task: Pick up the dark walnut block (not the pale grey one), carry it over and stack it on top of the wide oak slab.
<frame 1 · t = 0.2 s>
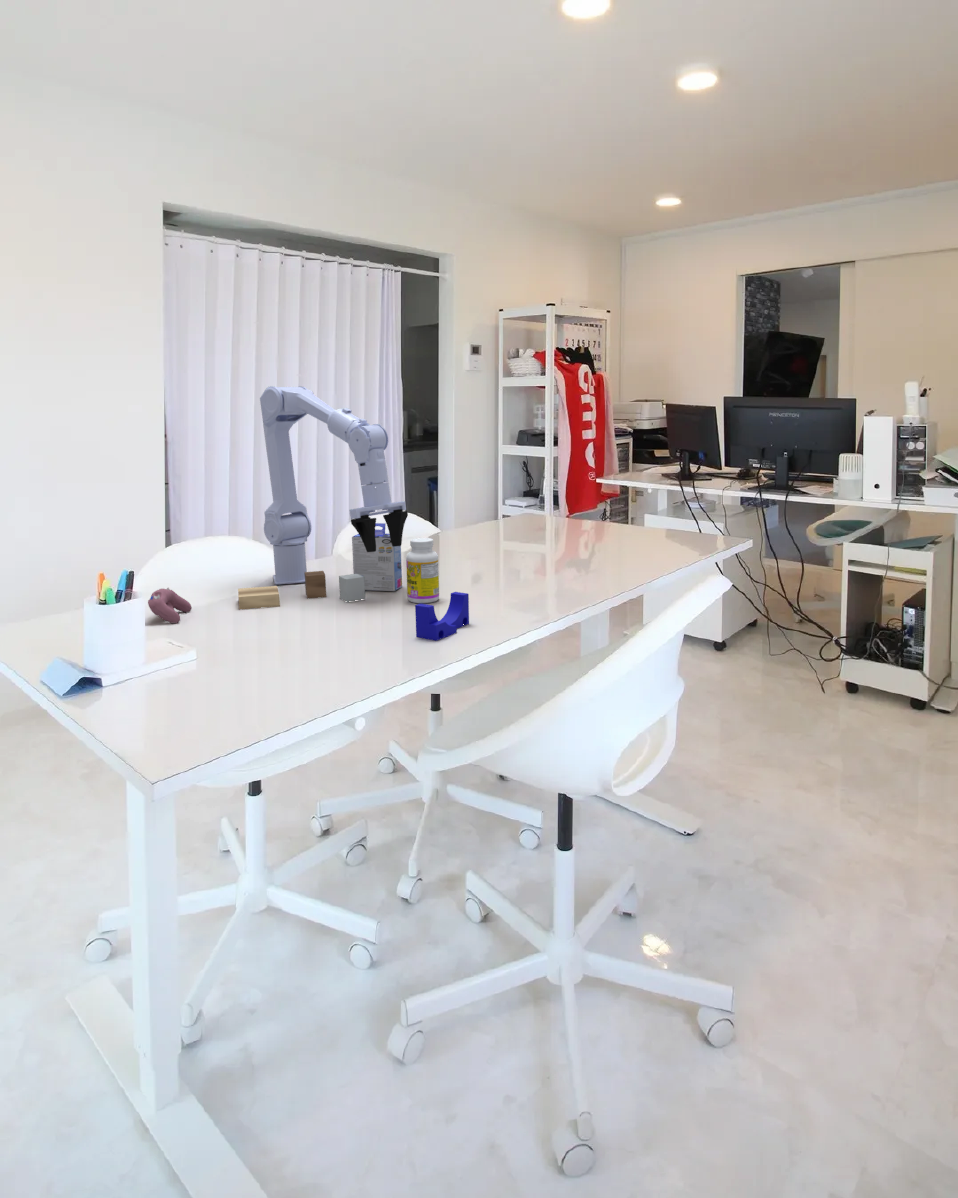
hand: (384, 548, 170), 10 cm above the table, tool pointing down, fingers open, 7 cm apart
supplement bottle: (423, 601, 169), on the table
ink cartridge box: (378, 589, 180), on the table
blue cradle holder: (446, 632, 147), on the table
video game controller: (171, 619, 158), on the table
oak slab: (259, 605, 169), on the table
walnut block: (316, 595, 175), on the table
grey block: (352, 599, 171), on the table
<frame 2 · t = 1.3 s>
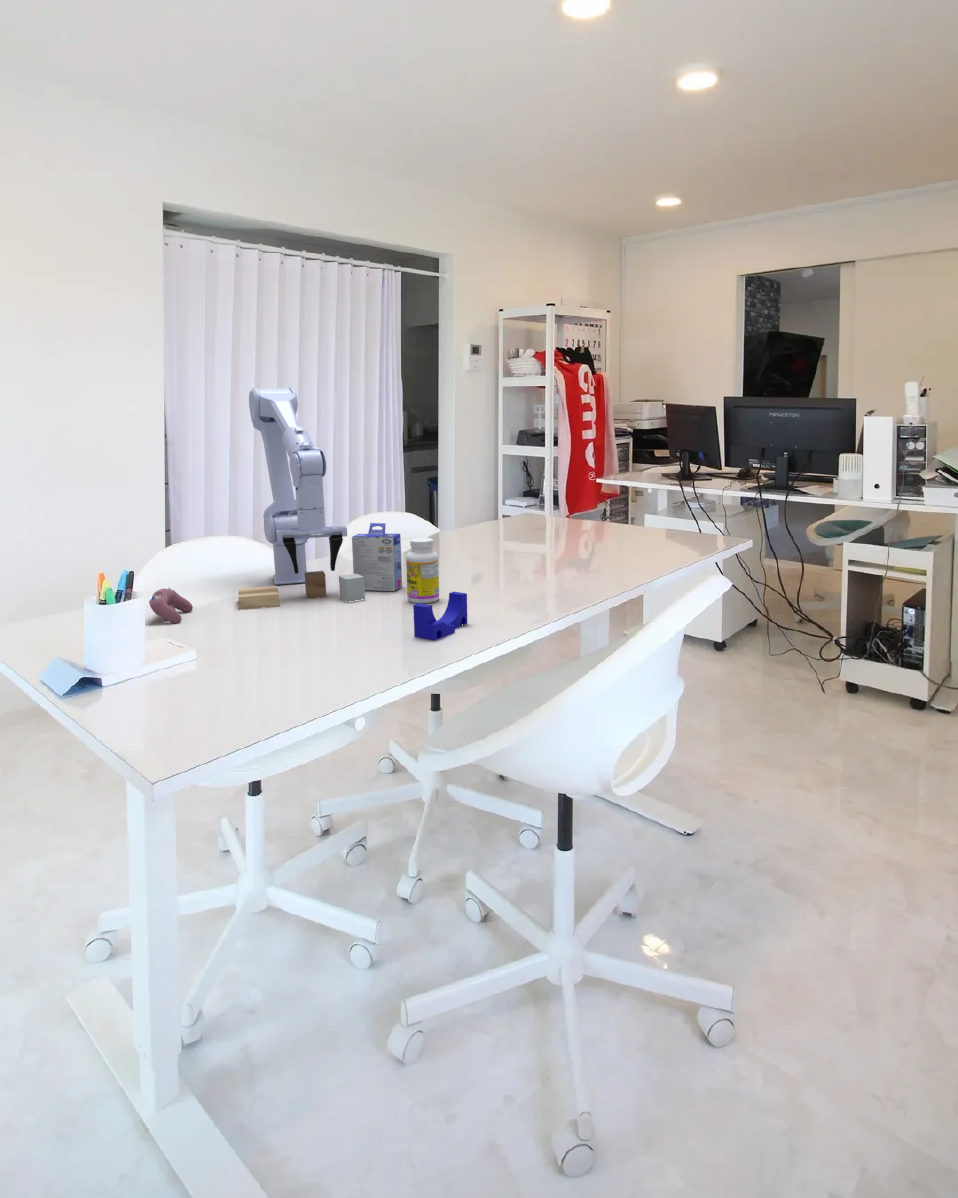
hand: (314, 571, 173), 5 cm above the table, tool pointing down, fingers open, 7 cm apart
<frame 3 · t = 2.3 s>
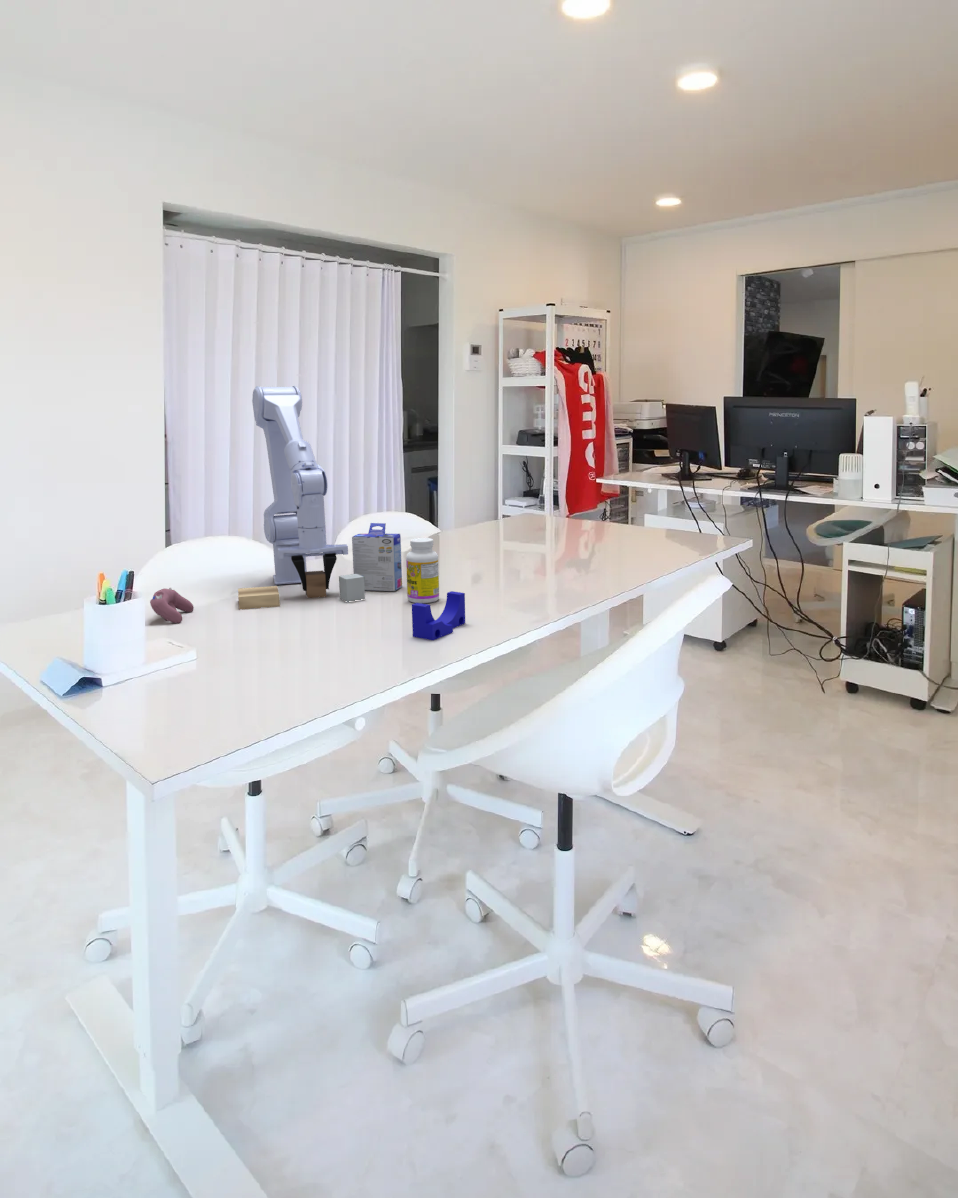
hand: (315, 589, 174), 1 cm above the table, tool pointing down, fingers closed on walnut block, 4 cm apart
walnut block: (316, 595, 175), on the table, touching gripper
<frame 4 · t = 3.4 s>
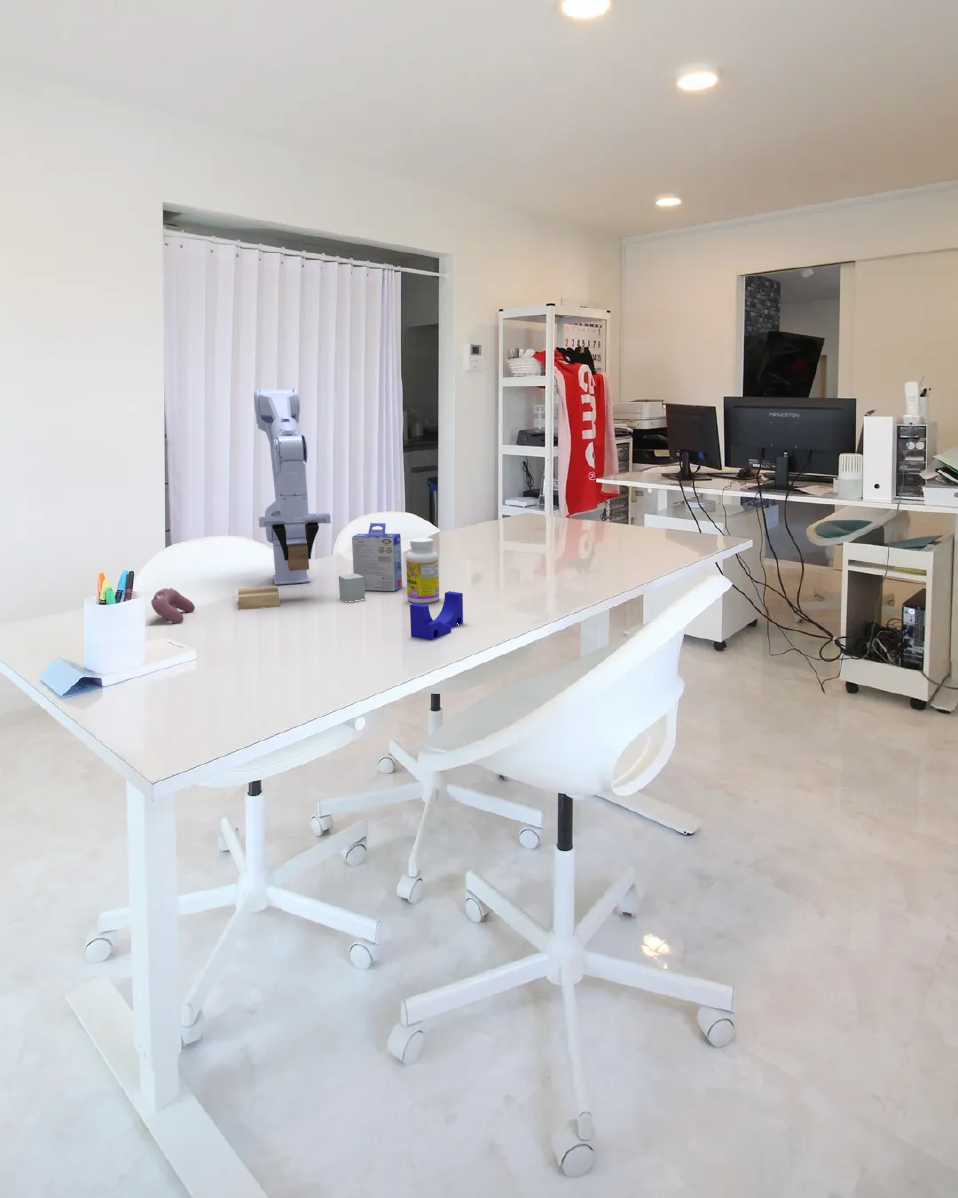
hand: (297, 559, 171), 8 cm above the table, tool pointing down, fingers closed on walnut block, 4 cm apart
walnut block: (298, 568, 171), point 6 cm above the table, touching gripper
when the fingers open (6 cm above the table, at t = 4.7 s): walnut block stays where it is, point 3 cm above the table.
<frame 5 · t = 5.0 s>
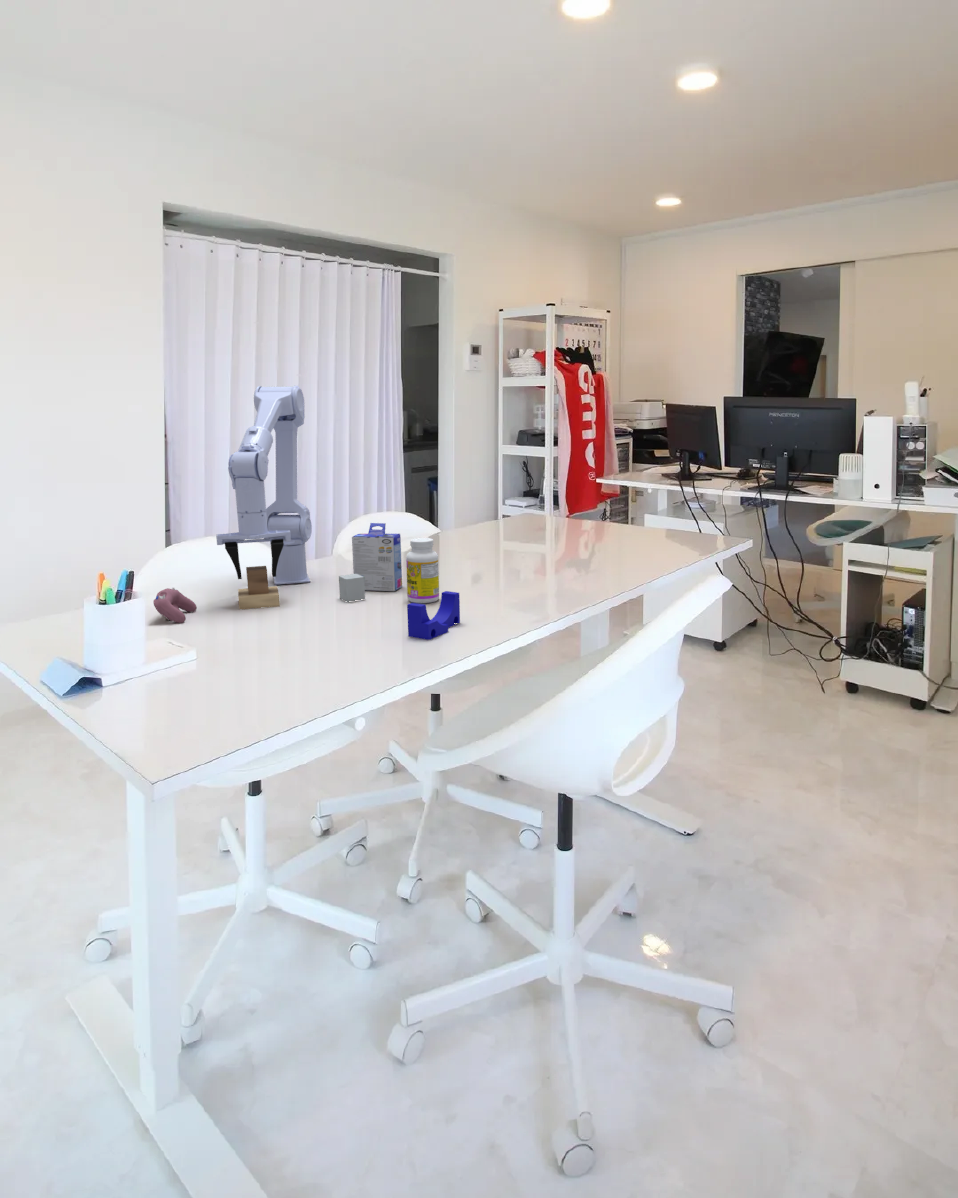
hand: (257, 577, 167), 6 cm above the table, tool pointing down, fingers open, 6 cm apart
walnut block: (258, 591, 168), point 3 cm above the table
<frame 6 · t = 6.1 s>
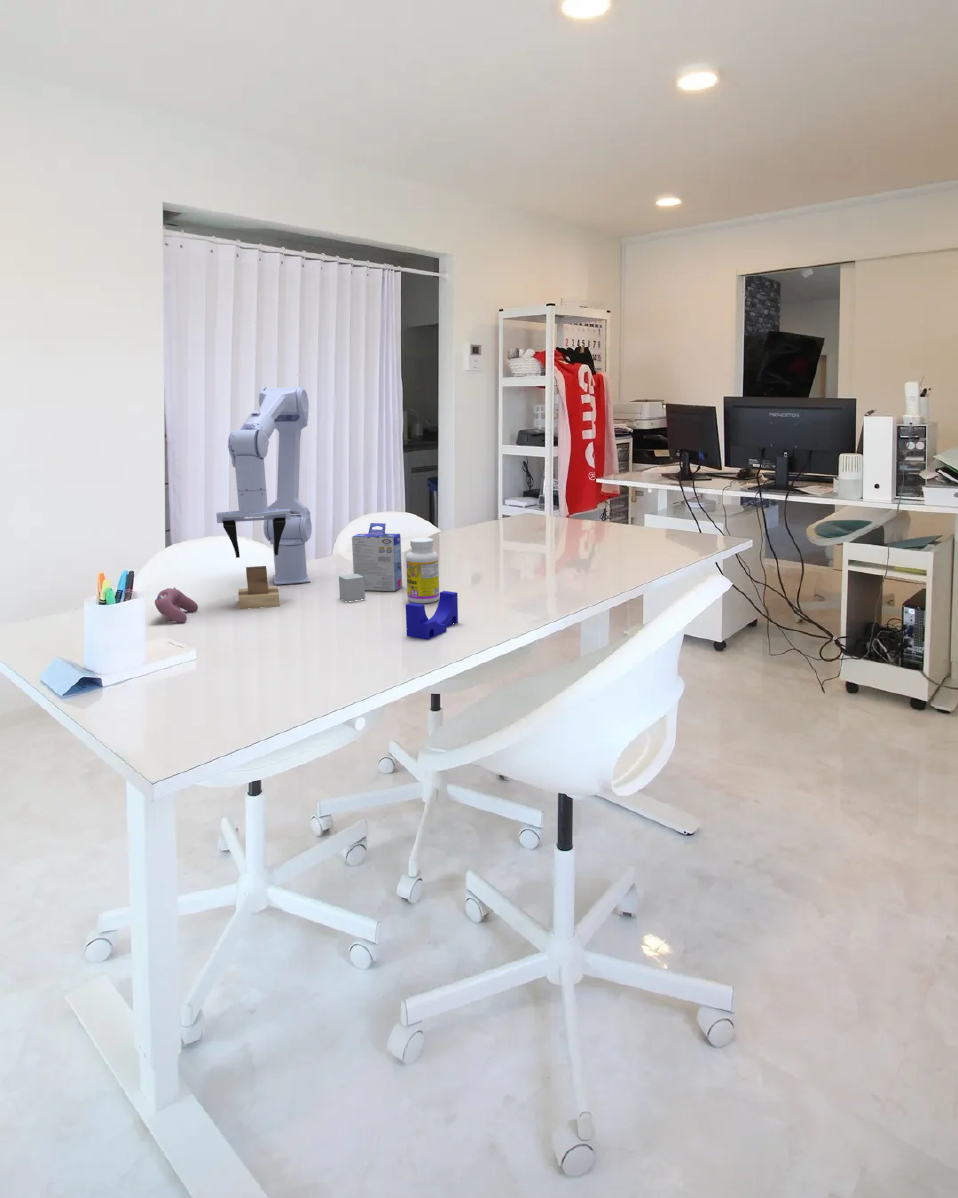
hand: (257, 555, 167), 10 cm above the table, tool pointing down, fingers open, 7 cm apart
oak slab: (259, 605, 169), on the table, touching walnut block
walnut block: (258, 592, 168), point 3 cm above the table, touching oak slab
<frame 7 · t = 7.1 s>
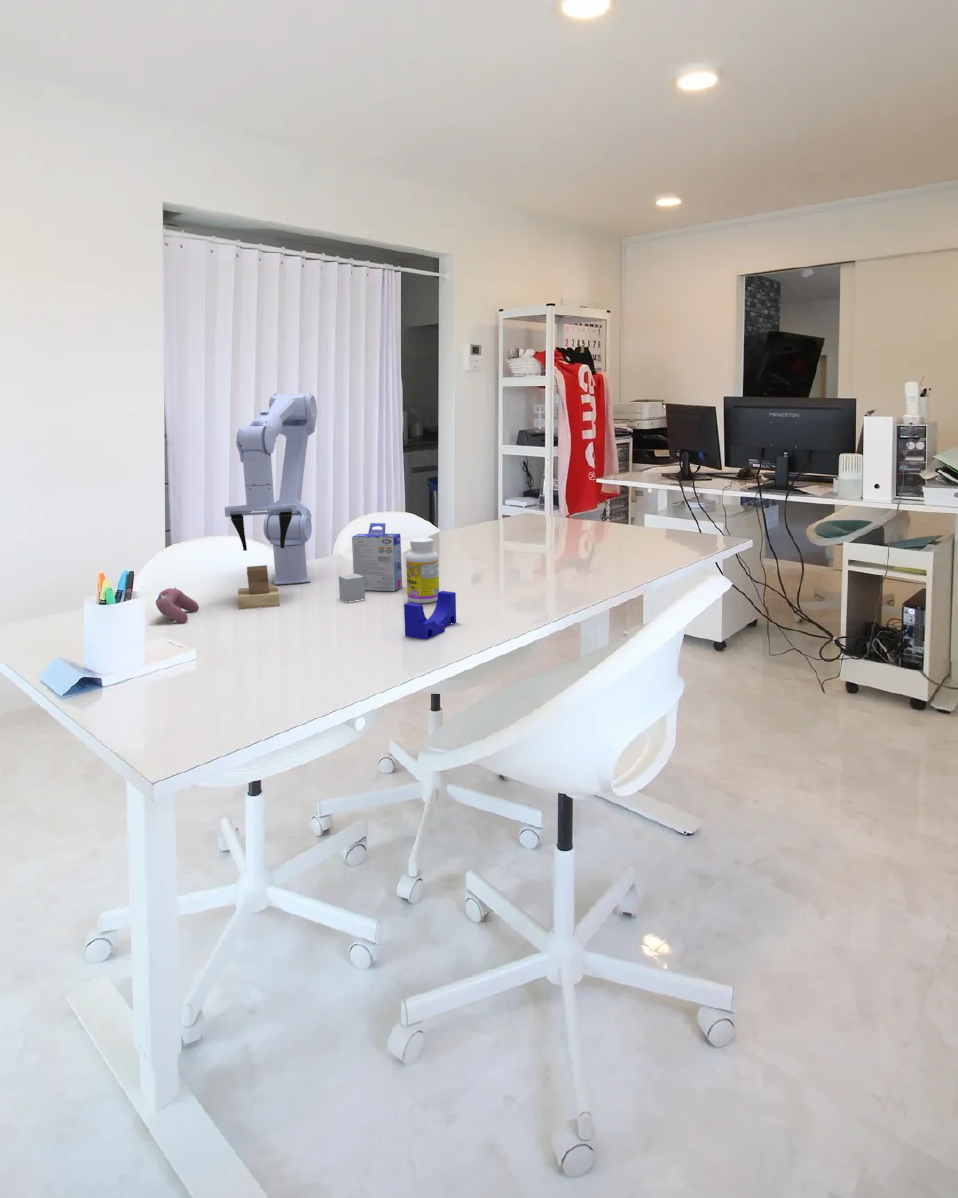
hand: (263, 548, 172), 10 cm above the table, tool pointing down, fingers open, 7 cm apart
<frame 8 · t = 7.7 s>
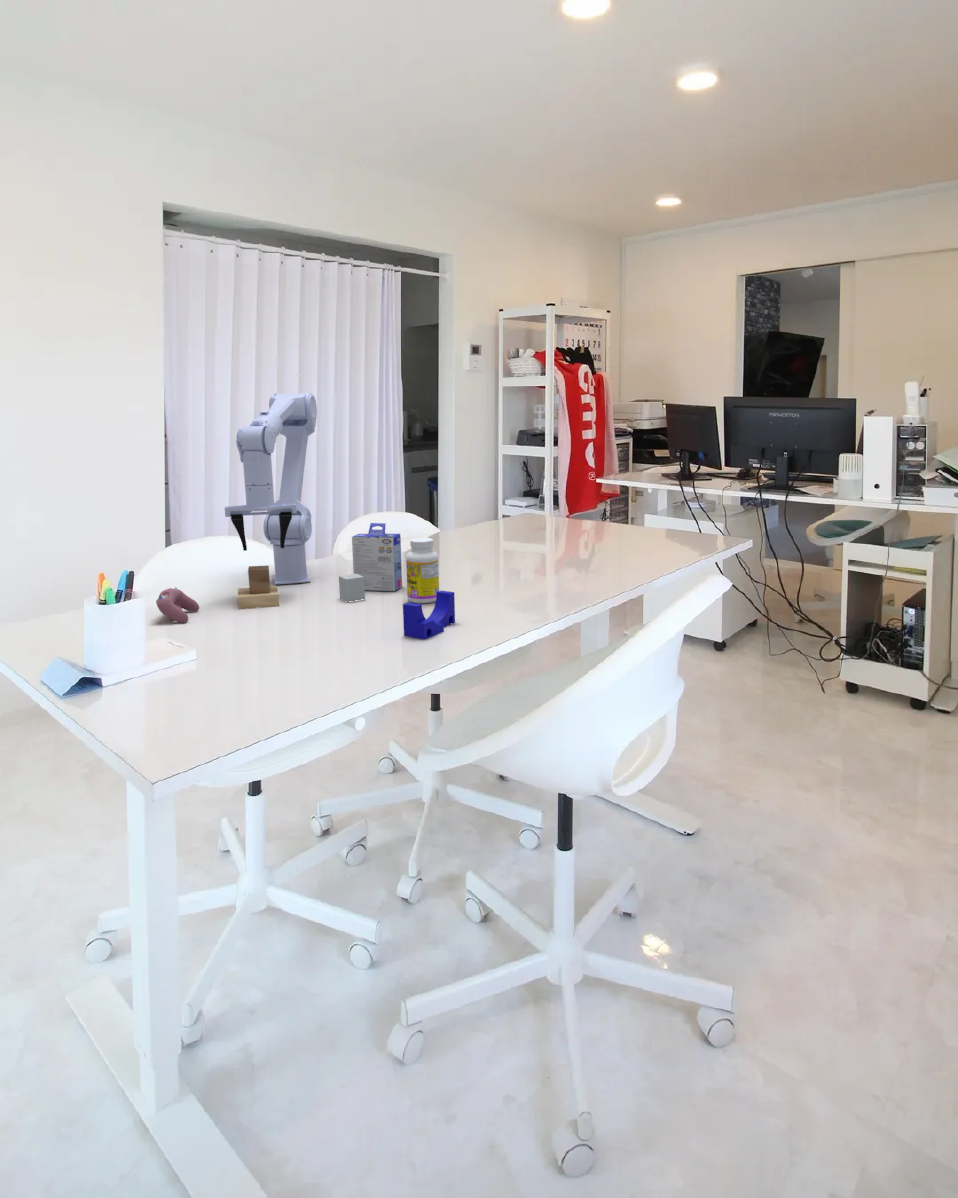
hand: (263, 548, 172), 10 cm above the table, tool pointing down, fingers open, 7 cm apart
at the end: walnut block 0.6 cm off-centre on the oak slab, point 3.0 cm above the oak slab's base; walnut block tilted 1°; grey block moved 0.1 cm from its start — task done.
